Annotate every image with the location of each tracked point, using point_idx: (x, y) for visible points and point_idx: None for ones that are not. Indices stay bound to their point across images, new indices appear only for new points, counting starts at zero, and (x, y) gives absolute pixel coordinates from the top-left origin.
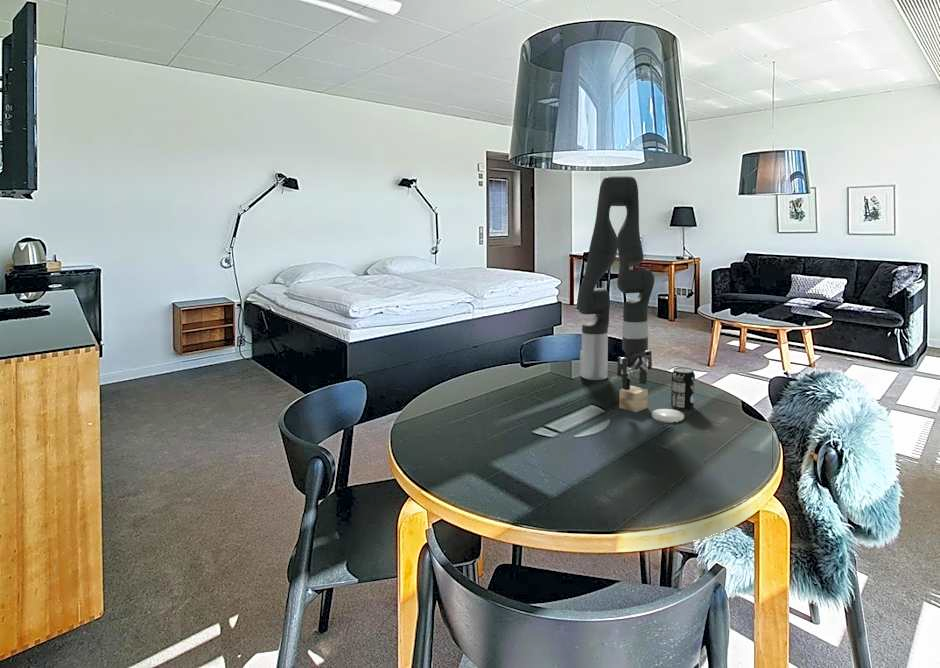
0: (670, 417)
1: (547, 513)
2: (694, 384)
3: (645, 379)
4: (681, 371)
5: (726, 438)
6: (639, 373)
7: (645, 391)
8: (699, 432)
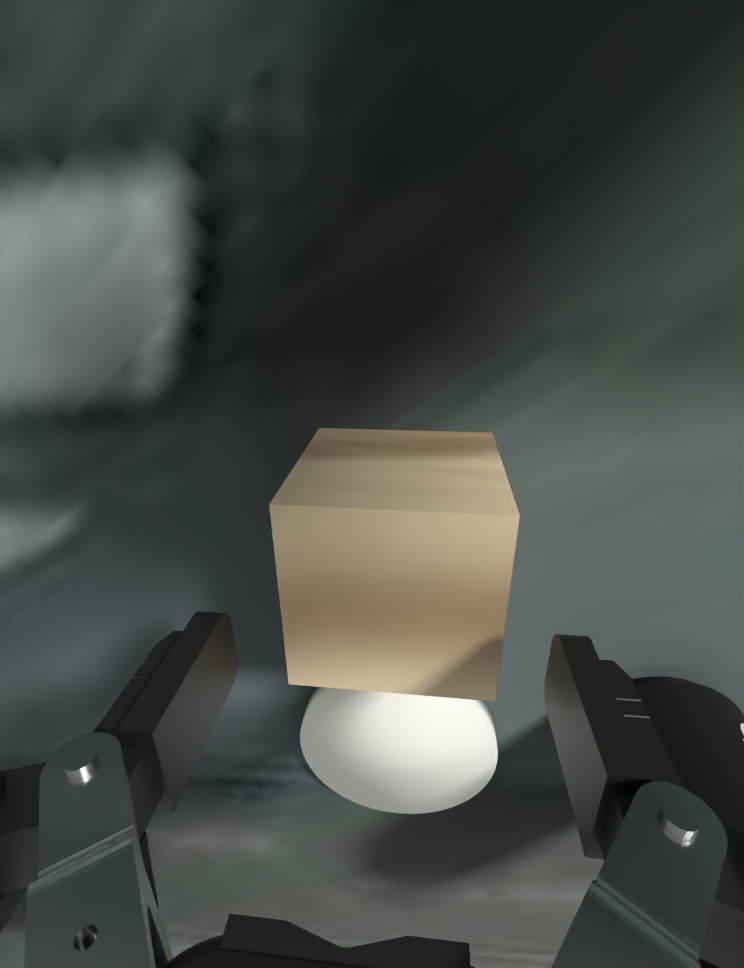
0: (354, 777)
1: None
2: None
3: (561, 754)
4: None
5: (347, 935)
6: (595, 750)
7: (452, 688)
8: (324, 870)
